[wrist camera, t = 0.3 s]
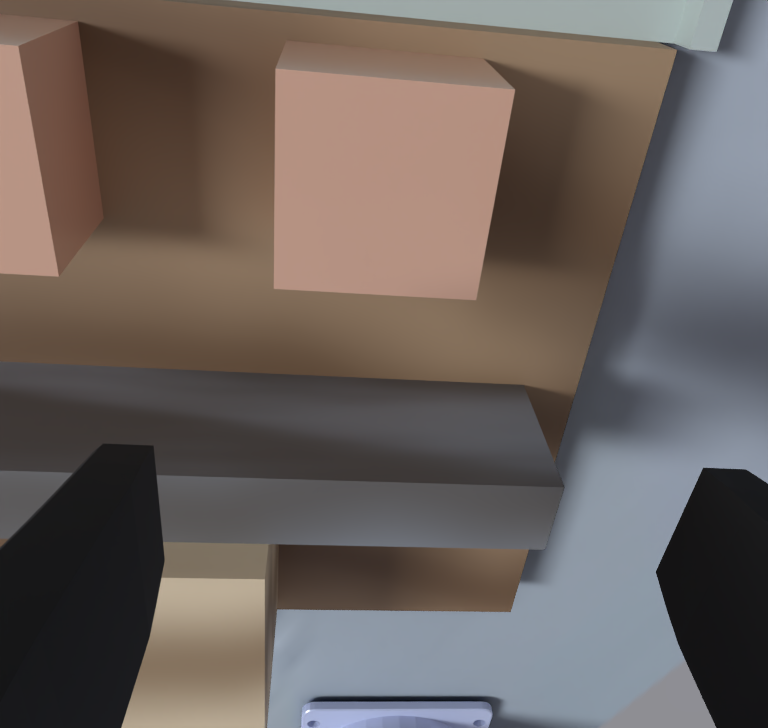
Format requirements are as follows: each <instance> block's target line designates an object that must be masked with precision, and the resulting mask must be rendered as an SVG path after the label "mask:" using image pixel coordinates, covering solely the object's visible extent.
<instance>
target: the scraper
mask: <svg viewBox="0 0 768 728" xmlns="http://www.w3.org/2000/svg"><path fill="white" fill-rule="evenodd" d="M103 443H104V444H129V445H153V446H154V454H155V465H156V475H157V485H158V495H159V505H160V516H161V526H162V536H163V546H164V556H165V562H164V567H163V572H162V578H161V583H160V588H159V594H158V599H157V604H156V609H155V614H154V619H153V623H152V628H151V633H150V638H149V641H148V644H147V647H146V651H145V654H144V657H143V660H142V664H141V667H140V670H139V673H138V676H137V680H136V683H135V686H134V689H133V692H132V695H131V699H130V702H129V705H128V708H127V711H126V714H125V718H124V721H123V724H122V727H121V728H267V720H268V708H269V696H270V685H271V673H272V661H273V649H274V638H275V626H276V614H277V602H278V551H279V544H286V545H335V546H384V547H433V548H482V549H531V550H545V548H546V545H547V541H548V538H549V535H550V532H551V529H552V525H553V522H554V519H555V516H556V513H557V510H558V506H559V503H560V500H561V497H562V494H563V491H564V485H563V482H562V480H561V477H560V475H559V472H558V470H557V467H556V465H555V462H554V460H553V457H552V455H551V452H550V450H549V447H548V445H547V442H546V440H545V437H544V435H543V432H542V430H541V427H540V425H539V422H538V420H537V417H536V415H535V412H534V410H533V407H532V405H531V402H530V400H529V397H528V395H527V392H526V390H525V387H524V385H516V384H493V383H471V382H449V381H426V380H404V379H381V378H359V377H337V376H314V375H292V374H269V373H247V372H225V371H202V370H180V369H157V368H135V367H113V366H90V365H68V364H45V363H23V362H1V361H0V539H9V538H10V537H11V536H12V535H13V534H14V533H15V532H16V531H17V530H18V529H19V528H20V527H21V526H22V525H23V524H24V523H25V522H26V521H27V520H28V519H29V518H30V517H31V516H32V515H33V514H34V513H35V512H36V511H37V510H38V509H39V508H40V507H41V506H42V505H43V504H44V503H45V502H46V501H47V500H48V499H49V498H50V497H51V496H52V495H53V494H54V493H55V491H56V490H57V489H58V488H59V487H60V486H61V485H62V484H63V483H64V482H65V481H66V480H67V479H68V478H69V477H70V476H71V475H72V474H73V473H74V471H75V470H76V469H77V468H78V467H79V466H80V465H81V464H82V463H83V462H84V461H85V460H86V459H87V458H88V457H89V456H90V455H91V454H92V452H93V451H94V450H96V449H97V448H98V447H99V446H101V445H102V444H103Z"/></svg>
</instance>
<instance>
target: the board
mask: <svg viewBox="0 0 768 728" xmlns="http://www.w3.org/2000/svg"><path fill="white" fill-rule="evenodd" d="M0 14H6V15H16V16H27V17H38V18H49V19H60V20H71V21H78V26H79V34H80V41H81V49H82V57H83V64H84V72H85V79H86V87H87V95H88V102H89V110H90V117H91V125H92V133H93V140H94V148H95V155H96V163H97V171H98V178H99V186H100V193H101V201H102V209H103V216H104V218H103V220H102V221H101V222H100V224H99V225H98V226H97V228H96V229H95V230H94V231H93V233H92V234H91V235H90V237H89V238H88V239H87V241H86V242H85V243H84V245H83V246H82V247H81V248H80V250H79V251H78V252H77V254H76V255H75V256H74V258H73V259H72V260H71V262H70V263H69V264H68V265H67V267H66V268H65V269H64V271H63V272H62V273H61V275H60V276H59V277H55V276H38V275H20V274H2V273H0V361H1V362H23V363H45V364H68V365H90V366H113V367H135V368H157V369H180V370H202V371H225V372H247V373H269V374H292V375H314V376H337V377H359V378H381V379H404V380H426V381H449V382H471V383H493V384H516V385H524V387H525V390H526V392H527V395H528V397H529V400H530V402H531V405H532V407H533V410H534V412H535V415H536V417H537V420H538V422H539V425H540V427H541V430H542V432H543V435H544V437H545V440H546V442H547V445H548V447H549V450H550V452H551V455H552V457H553V460H554V462H555V460H556V457H557V454H558V450H559V447H560V443H561V440H562V437H563V433H564V430H565V427H566V423H567V420H568V416H569V413H570V410H571V406H572V403H573V400H574V396H575V393H576V390H577V386H578V383H579V379H580V376H581V373H582V369H583V366H584V363H585V359H586V356H587V352H588V349H589V346H590V342H591V339H592V336H593V332H594V329H595V326H596V322H597V319H598V315H599V312H600V309H601V305H602V302H603V299H604V295H605V292H606V288H607V285H608V282H609V278H610V275H611V272H612V268H613V265H614V262H615V258H616V255H617V251H618V248H619V245H620V241H621V238H622V235H623V231H624V228H625V224H626V221H627V218H628V214H629V211H630V208H631V204H632V201H633V197H634V194H635V191H636V187H637V184H638V181H639V177H640V174H641V171H642V167H643V164H644V160H645V157H646V154H647V150H648V147H649V144H650V140H651V137H652V133H653V130H654V127H655V123H656V120H657V117H658V113H659V110H660V107H661V103H662V100H663V96H664V93H665V90H666V86H667V83H668V80H669V76H670V73H671V69H672V66H673V63H674V59H675V56H676V53H677V50H676V49H673V48H671V47H668V46H666V45H663V44H661V43H658V42H654V41H643V40H633V39H623V38H612V37H602V36H592V35H582V34H571V33H561V32H551V31H540V30H530V29H520V28H509V27H499V26H489V25H479V24H468V23H458V22H448V21H437V20H427V19H417V18H407V17H396V16H386V15H376V14H365V13H355V12H345V11H334V10H324V9H314V8H304V7H293V6H283V5H273V4H262V3H252V2H242V1H231V0H0ZM286 40H288V41H298V42H309V43H320V44H331V45H342V46H353V47H364V48H374V49H385V50H396V51H407V52H418V53H429V54H439V55H450V56H461V57H472V58H483V59H484V60H485V61H486V62H487V63H488V64H490V65H491V66H492V67H493V68H494V69H495V70H496V71H497V72H498V73H499V74H500V75H501V76H502V77H503V78H504V79H505V80H506V81H507V82H508V83H509V84H510V85H511V86H512V87H513V88H514V89H515V94H514V99H513V104H512V110H511V115H510V120H509V126H508V131H507V137H506V142H505V147H504V153H503V158H502V164H501V169H500V174H499V180H498V185H497V191H496V196H495V201H494V207H493V212H492V217H491V223H490V228H489V234H488V239H487V244H486V250H485V255H484V261H483V266H482V271H481V277H480V282H479V288H478V293H477V298H476V300H461V299H443V298H426V297H408V296H390V295H373V294H355V293H337V292H320V291H302V290H285V289H274V189H275V68H276V66H277V63H278V61H279V58H280V56H281V53H282V51H283V48H284V45H285V43H286ZM7 540H8V539H0V547H1V546H2V545H3V544H4V543H5V542H6V541H7ZM528 551H529V549H482V548H433V547H384V546H335V545H286V544H279V551H278V602H277V609H301V610H390V611H479V612H511V609H512V605H513V602H514V598H515V595H516V592H517V588H518V585H519V582H520V578H521V575H522V571H523V568H524V565H525V561H526V558H527V555H528Z"/></svg>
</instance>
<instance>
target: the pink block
mask: <svg viewBox="0 0 768 728" xmlns="http://www.w3.org/2000/svg"><path fill="white" fill-rule="evenodd" d="M514 94H515V89H514V88H513V87H512V86H511V85H510V84H509V83H508V82H507V81H506V80H505V79H504V78H503V77H502V76H501V75H500V74H499V73H498V72H497V71H496V70H495V69H494V68H493V67H492V66H491V65H490V64H488V63H487V62H486V61H485V60H484V59H483V58H472V57H461V56H450V55H439V54H429V53H418V52H407V51H396V50H385V49H374V48H364V47H353V46H342V45H331V44H320V43H309V42H298V41H288V40H286V43H285V45H284V48H283V51H282V53H281V56H280V58H279V61H278V63H277V66H276V68H275V189H274V289H285V290H302V291H320V292H337V293H355V294H373V295H390V296H408V297H426V298H443V299H461V300H476V298H477V293H478V288H479V282H480V277H481V271H482V266H483V261H484V255H485V250H486V244H487V239H488V234H489V228H490V223H491V217H492V212H493V207H494V201H495V196H496V191H497V185H498V180H499V174H500V169H501V164H502V158H503V153H504V147H505V142H506V137H507V131H508V126H509V120H510V115H511V110H512V104H513V99H514Z"/></svg>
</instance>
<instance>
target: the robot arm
mask: <svg viewBox="0 0 768 728" xmlns="http://www.w3.org/2000/svg"><path fill="white" fill-rule="evenodd" d="M164 562H165V556H164V546H163V536H162V526H161V516H160V505H159V495H158V485H157V475H156V465H155V454H154V446H153V445H129V444H104V443H103V444H102V445H101V446H99V447H98V448H97V449H96V450H94V451H93V452H92V454H91V455H90V456H89V457H88V458H87V459H86V460H85V461H84V462H83V463H82V464H81V465H80V466H79V467H78V468H77V469H76V470H75V471H74V473H73V474H72V475H71V476H70V477H69V478H68V479H67V480H66V481H65V482H64V483H63V484H62V485H61V486H60V487H59V488H58V489H57V490H56V491H55V493H54V494H53V495H52V496H51V497H50V498H49V499H48V500H47V501H46V502H45V503H44V504H43V505H42V506H41V507H40V508H39V509H38V510H37V511H36V512H35V513H34V514H33V515H32V516H31V517H30V518H29V519H28V520H27V521H26V522H25V523H24V524H23V525H22V526H21V527H20V528H19V529H18V530H17V531H16V532H15V533H14V534H13V535H12V536H11V537H10V538H9V539H8V540H7V541H6V542H5V543H4V544H3V545H2V546H1V547H0V728H121V727H122V724H123V721H124V718H125V714H126V711H127V708H128V705H129V702H130V699H131V695H132V692H133V689H134V686H135V683H136V680H137V676H138V673H139V670H140V667H141V664H142V660H143V657H144V654H145V651H146V647H147V644H148V641H149V638H150V633H151V628H152V623H153V619H154V614H155V609H156V604H157V599H158V594H159V588H160V583H161V578H162V572H163V567H164ZM656 574H657V577H658V581H659V584H660V588H661V591H662V594H663V598H664V601H665V605H666V608H667V611H668V614H669V617H670V620H671V623H672V626H673V629H674V632H675V635H676V638H677V641H678V644H679V646H680V649H681V651H682V653H683V656H684V658H685V660H686V662H687V665H688V667H689V669H690V671H691V673H692V676H693V678H694V680H695V682H696V684H697V687H698V689H699V690H700V693H701V695H702V698H703V700H704V702H705V704H706V706H707V708H708V710H709V713H710V715H711V717H712V719H713V721H714V723H715V726H716V728H768V484H767V483H766V482H764V481H763V480H761V479H760V478H758V477H757V476H755V475H754V474H752V473H751V472H749V471H747V470H743V469H719V468H703V470H702V472H701V474H700V476H699V478H698V481H697V483H696V485H695V487H694V489H693V492H692V494H691V496H690V498H689V500H688V503H687V505H686V507H685V509H684V511H683V513H682V516H681V518H680V520H679V522H678V524H677V527H676V529H675V531H674V533H673V535H672V538H671V540H670V542H669V544H668V546H667V549H666V551H665V553H664V555H663V557H662V560H661V562H660V564H659V566H658V568H657V570H656ZM492 716H493V713H492V708H491V705H490V704H489V703H487V702H482V701H412V702H310V703H307V704H306V705H304V706H303V708H302V722H301V728H489V725H490V722H491V719H492Z"/></svg>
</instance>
